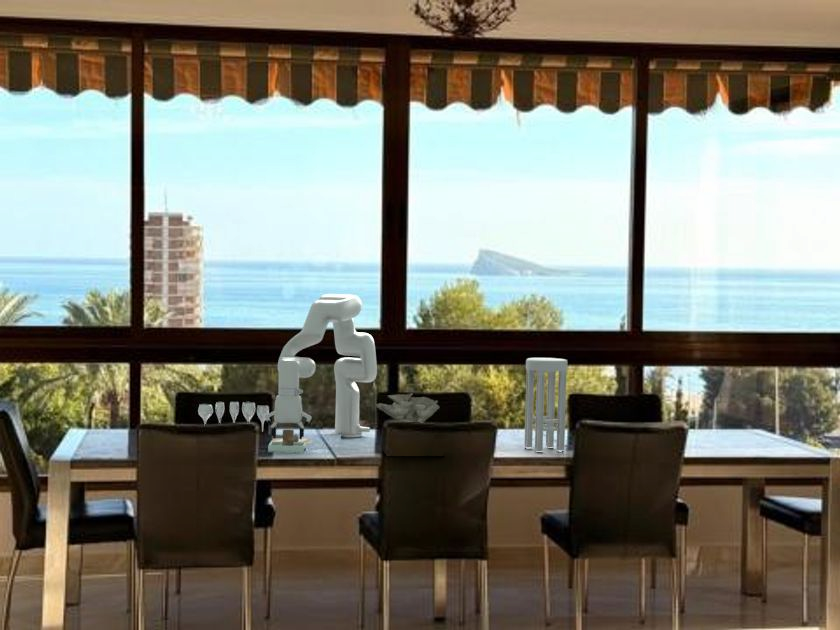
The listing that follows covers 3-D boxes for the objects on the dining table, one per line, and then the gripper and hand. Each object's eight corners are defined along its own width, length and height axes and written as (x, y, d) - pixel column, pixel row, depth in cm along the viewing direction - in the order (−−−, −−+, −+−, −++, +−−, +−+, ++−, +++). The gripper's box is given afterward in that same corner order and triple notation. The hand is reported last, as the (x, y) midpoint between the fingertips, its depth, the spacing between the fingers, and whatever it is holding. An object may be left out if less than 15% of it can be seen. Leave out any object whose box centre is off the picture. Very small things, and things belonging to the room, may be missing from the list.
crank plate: (312, 442, 478) (312, 438, 478) (309, 448, 463) (309, 444, 463) (273, 441, 478) (273, 437, 478) (269, 447, 463) (269, 443, 463)
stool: (517, 448, 479) (519, 357, 477) (553, 446, 484) (555, 357, 483) (534, 454, 464) (537, 360, 463) (571, 452, 470) (574, 360, 468)
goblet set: (268, 434, 498) (269, 401, 498) (267, 436, 492) (268, 403, 492) (198, 433, 497) (199, 400, 496) (196, 435, 491) (197, 402, 490)
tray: (306, 448, 462) (306, 442, 462) (303, 453, 452) (303, 446, 452) (271, 448, 462) (271, 441, 462) (268, 452, 452) (268, 445, 452)
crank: (299, 440, 471) (299, 424, 471) (298, 442, 467) (298, 425, 467) (269, 439, 471) (269, 423, 471) (267, 441, 467) (268, 424, 467)
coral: (376, 456, 449) (377, 397, 448) (372, 448, 469) (374, 391, 468) (444, 457, 451) (446, 398, 450) (438, 449, 471) (439, 392, 471)
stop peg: (293, 448, 459) (294, 429, 459) (292, 449, 455) (293, 430, 455) (283, 447, 459) (283, 429, 459) (281, 449, 455) (282, 430, 455)
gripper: (313, 391, 460) (312, 437, 461) (266, 390, 460) (265, 436, 461) (311, 394, 453) (310, 440, 454) (263, 392, 453) (263, 439, 454)
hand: (287, 438), depth 457 cm, fingers open, 9 cm apart
